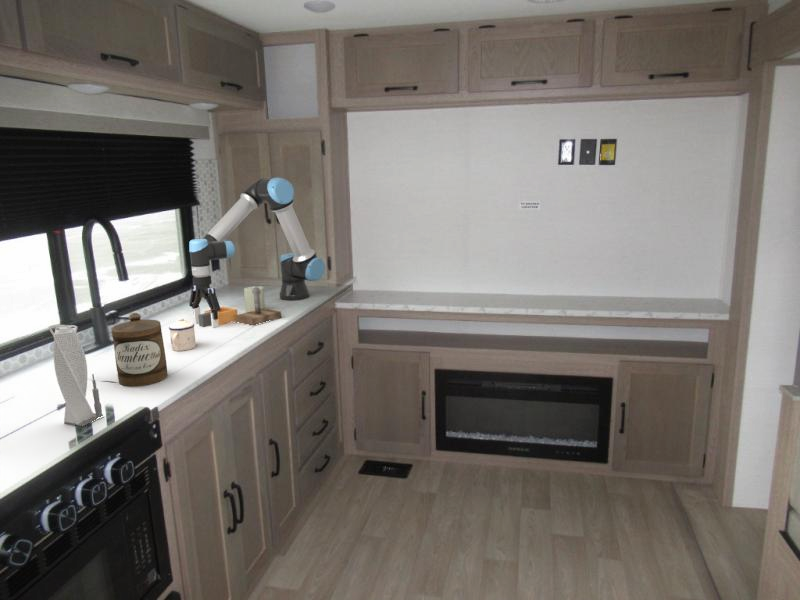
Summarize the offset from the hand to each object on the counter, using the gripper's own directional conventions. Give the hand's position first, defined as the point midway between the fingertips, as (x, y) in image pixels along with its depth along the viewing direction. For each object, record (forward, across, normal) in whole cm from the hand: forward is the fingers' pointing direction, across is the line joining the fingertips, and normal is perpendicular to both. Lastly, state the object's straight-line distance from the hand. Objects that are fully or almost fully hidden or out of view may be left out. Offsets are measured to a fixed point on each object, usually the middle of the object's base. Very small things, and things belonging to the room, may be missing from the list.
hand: (206, 324), depth 258 cm
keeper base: (0, +13, +18) cm, 22 cm away
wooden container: (+1, +40, -52) cm, 66 cm away
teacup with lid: (+1, +22, -26) cm, 34 cm away
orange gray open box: (0, 0, +5) cm, 5 cm away
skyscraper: (+1, +57, -80) cm, 98 cm away
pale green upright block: (0, 0, +27) cm, 27 cm away
